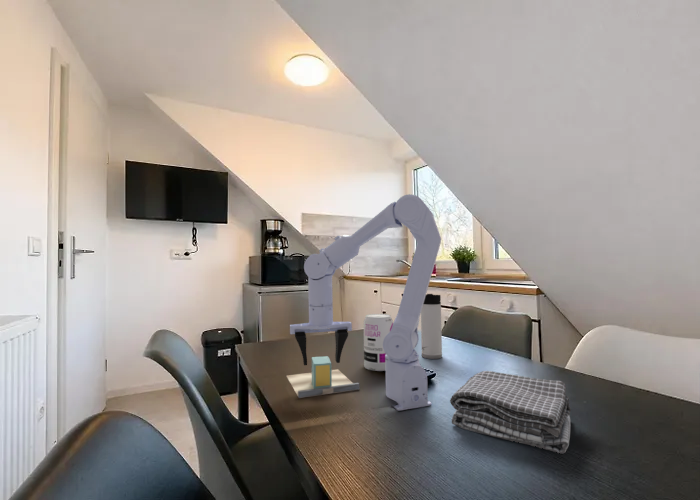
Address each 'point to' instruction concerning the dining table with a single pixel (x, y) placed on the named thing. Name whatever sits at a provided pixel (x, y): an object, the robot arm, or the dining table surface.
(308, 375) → the shelf board
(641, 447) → the dining table surface
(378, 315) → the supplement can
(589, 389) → the dining table surface
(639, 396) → the dining table surface
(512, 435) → the towel
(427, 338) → the travel mug
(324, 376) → the carton
